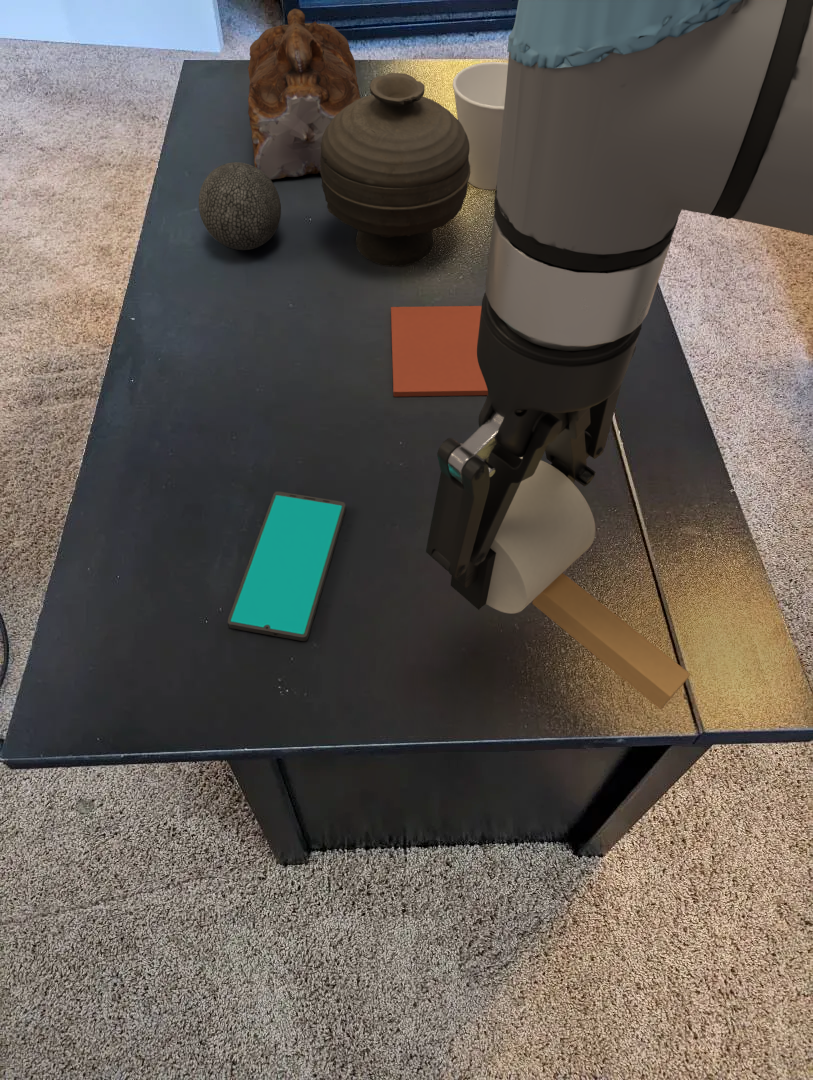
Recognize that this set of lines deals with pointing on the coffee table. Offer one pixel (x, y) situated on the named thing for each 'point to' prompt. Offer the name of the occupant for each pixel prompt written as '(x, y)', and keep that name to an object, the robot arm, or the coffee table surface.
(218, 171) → the decorative ball
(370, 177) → the pot
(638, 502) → the coffee table surface
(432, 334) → the mat
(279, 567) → the smartphone
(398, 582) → the coffee table surface
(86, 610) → the coffee table surface
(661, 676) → the mallet
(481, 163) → the cup
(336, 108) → the sculpture
